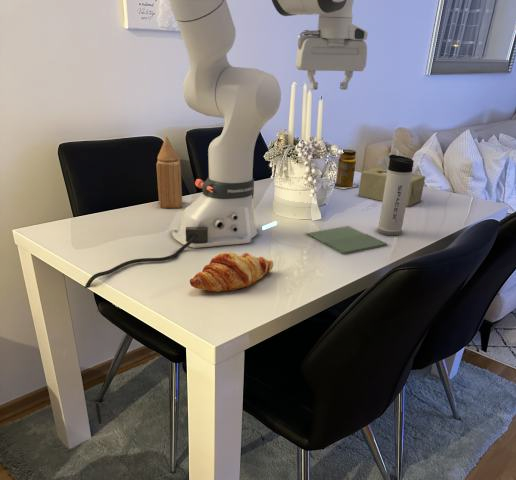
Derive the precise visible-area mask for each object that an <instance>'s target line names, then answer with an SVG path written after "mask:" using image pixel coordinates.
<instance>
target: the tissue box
mask: <svg viewBox="0 0 516 480" xmlns="http://www.w3.org/2000/svg"><path fill="white" fill-rule="evenodd" d="M392 154H394V155H397V156H403V157H407V158H408V155H406V154H402V155H401V154H400V153H399V150H398V149H396V148H395V149H393V150H391V151H390V152H389V153H388V154H383V155H381V156H380V157H379V158H378V159H376V161H377V164H378V165H379V166H380V167H377V166H376V167H375V166H374V167H372V168H369V169H365V170H362V171H361V172H360V180H359V186H358V197H360V198H361V197H362V198H366V199H370V200H374V201H379V202H383V196H384V189H385V183H386V177H387V172H388V166H389V160H390V158H389V155H392ZM411 174H412V176H411V181H410V187H409V192H408V198H407V203H406V207H408V208H409V207H411V206H413V205H415V204H417V203H419V202H421V200H422V196H423V191H424V186H425V180H426V176H425V175H420V174H415V173H414V174H413V173H411Z"/></svg>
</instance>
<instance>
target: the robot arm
mask: <svg viewBox="0 0 516 480" xmlns="http://www.w3.org/2000/svg"><path fill="white" fill-rule="evenodd" d="M167 2H168V4H169V7H170V10H171V13H172V15H173V18H174V20H175V22H176V25H177V28H178V30H179V33H180V36H181V38H182V40H183V43H184V46H185V48H186V52H187V56H188V64H189V68H188V69H189V70H188V72H187V74H186V75H185V77H184V80H183V85H182V93H183V98H184V102H185V103H186V105H187V106H188V107H189V108H190V109H191V110H193V111H195V112H197V113H199V114H201V115H204V116H206V117H212V118H221V119H224V123H223V129H222V132H221V134H220V135H219V136H217V137H215V138H214V139H212V141H211V142H210V143H209V146H208V150H207V152H208V153H207V156H208V160H207V161H208V177H207V179H206V180H202V179H201V178H197V179H196V180H195V182H194V184H195V186H196V187H197V188H198V189H202V193H201V194H200V195H199V196H198V197H196V199H194V200H193V201H192V202H191V203H190V204H189V205H188V206H186V208H184V209H183V211H182V212H181V217H180V226H177V227H174V228H173V229H172V232H171V233H172V237H173V238H174V240H176V241H177V242H178V243H179V244H181V245H182V246H181V247H180V248H178V249H177V250H176V251H175V252H174V253H173V254H170V255H167V256H161V257H144V258H143V257H142V258H133V259H131V260H127V261H124V262H121V263H120V264H117V265H116V266H114V267H111V269H108V270H104V271H100V272H96V273H95V274H93V275H92V276H91V277H90V278H89V279H88V280H87V282H86V283H85V284H84V289H88V288H90V287H91V285H92V283H93V282H94V281H95V280H96V279H98V278H99V277H103V276H108V275H110V274H112V273H114V272H116V271H118V270H120V269H122V268H123V267H126V266H129V265H132V264H138V263H150V262H154V263H155V262H164V261H168V260H169V261H170V260H172V259H174V258H176V257H178V255H180V253H182V252H183V251H184V250H185V249H186V248H188V247H190V248H195V249H197V248H208V247H219V246H232V245H241V244H250V243H251V241H252V239H253V238H254V237H256V235H257V234H258V230H257V229H258V228H257V225H256V221H255V214H254V203H253V200H254V194H255V179H254V178H253V171H254V170H253V168H254V154H255V153H254V152H255V146H256V142H257V139H258V137H259V134H260V132H261V130H262V129H263V127H264V126H266V124H267V123H268V121H270V120H271V119H272V118H273V117H274V116H275V115H276V113H277V112H278V110H279V108H280V106H281V101H282V90H281V87H280V83H279V81H278V79H277V78H276V76H274V74H271V73H269V72H267V71H265V70H261V69H258V68H255V67H254V68H253V67H241V66H232V64H230V62H229V60H228V55H227V54H228V53H229V52H230V51H231V50H232V49H233V46H234V44H235V42H236V37H237V30H236V27H235V24H234V20H233V17H232V14H231V11H230V8H229V4H228V1H227V0H167ZM271 2H272V5H273V6H274V8H275V10H276V12H277V13H278V14H280V16H283V17H290V16H299V15H300V16H302V15H305V16H306V15H307V16H313V15H318V22H317V30H315V29H314V30H313V29H312V30H309V29H305V30H303V31H302V32H301V33H300V34H298V37H297V51H296V58H295V67H296V69H297V70H298V71H306V72H307V73H306V76H307V78H308V80H309V82H310V84H309V89H310V90H313V91H314V90H318V88H319V82H317V81H316V80H315V76H316V72H317V71H320V72H321V71H322V72H344V78H343V81H340V82H339V83H340V84H339V85H340V86H339V89H340V90H342V91H343V90H348V86H349V83H350V81H351V79H352V77H353V75H354V72H364V69H365V68H366V66H367V58H368V45H367V43H366V40H367V39H368V34H369V33H368V31H367V30H366V29H364V28H362V27H360V26H357V25H356V24H354V23H353V5H354V2H355V0H271ZM277 225H278V221H276V220H275V221H272V222H270V223H268V224H265V225H262V226H261V227H262V228H261V229H262V231H264V230H267V229H269V228H272V227H275V226H277ZM94 405H95V412H96V417H97V424H99V425H101V424H102V423H103V421H102V415H101V409H100V404H99V402H97V403H94Z"/></svg>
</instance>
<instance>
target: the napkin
mask: <svg viewBox="0 0 516 480" xmlns="http://www.w3.org/2000/svg"><path fill="white" fill-rule="evenodd" d="M306 235H307V236H309V237H311V238H313V239H315V240H316V241H318V242H321V243H322V244H324V245H326V246H328V247H330V248H332V249H333V250H335V251H336V252H337V251H338V252H339V253H341V254H343V255H347V254H352V253H353V254H354V253H357V252H362V251H367V250H372V249H376V248H383V247H387V246H388V243H387V242H385V241H383V240H380V239H378V238H376V237H374V236H372V235H369V234H368V233H363V232H361V231H359V230H357V229H354V228H352V227H350V226H341V227H336V228H330V229H325V230H318V231H314V232H313V231H312V232H307V233H306Z"/></svg>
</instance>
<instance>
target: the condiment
mask: <svg viewBox="0 0 516 480" xmlns="http://www.w3.org/2000/svg"><path fill="white" fill-rule="evenodd" d="M342 150H343V152H344V153H343V154H341V153H340V154H339V159H338V162H337V170H336V171H337V172H336V179H335V180H336V181H335V182H334V183H335V186H334V187H333V188H336V189H341V190H346V189H350V188H355V187H358V185H357V184H354V178H355V171H356V165H357V164H356V163H357V159H356V155H357V154H356V153H357V151H356V150H353V149H342Z"/></svg>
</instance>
